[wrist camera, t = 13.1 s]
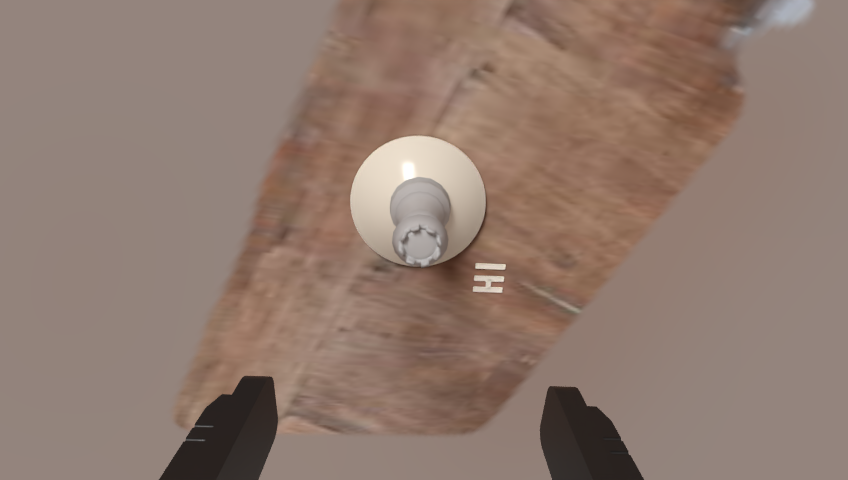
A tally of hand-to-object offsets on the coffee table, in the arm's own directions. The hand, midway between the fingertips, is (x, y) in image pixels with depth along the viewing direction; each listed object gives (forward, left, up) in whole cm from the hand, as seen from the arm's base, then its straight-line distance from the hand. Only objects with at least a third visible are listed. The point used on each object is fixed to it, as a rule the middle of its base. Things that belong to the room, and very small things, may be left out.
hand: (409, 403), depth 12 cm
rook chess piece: (0, 0, -20) cm, 20 cm away
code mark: (+6, +6, -20) cm, 22 cm away
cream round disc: (0, 0, -20) cm, 20 cm away
